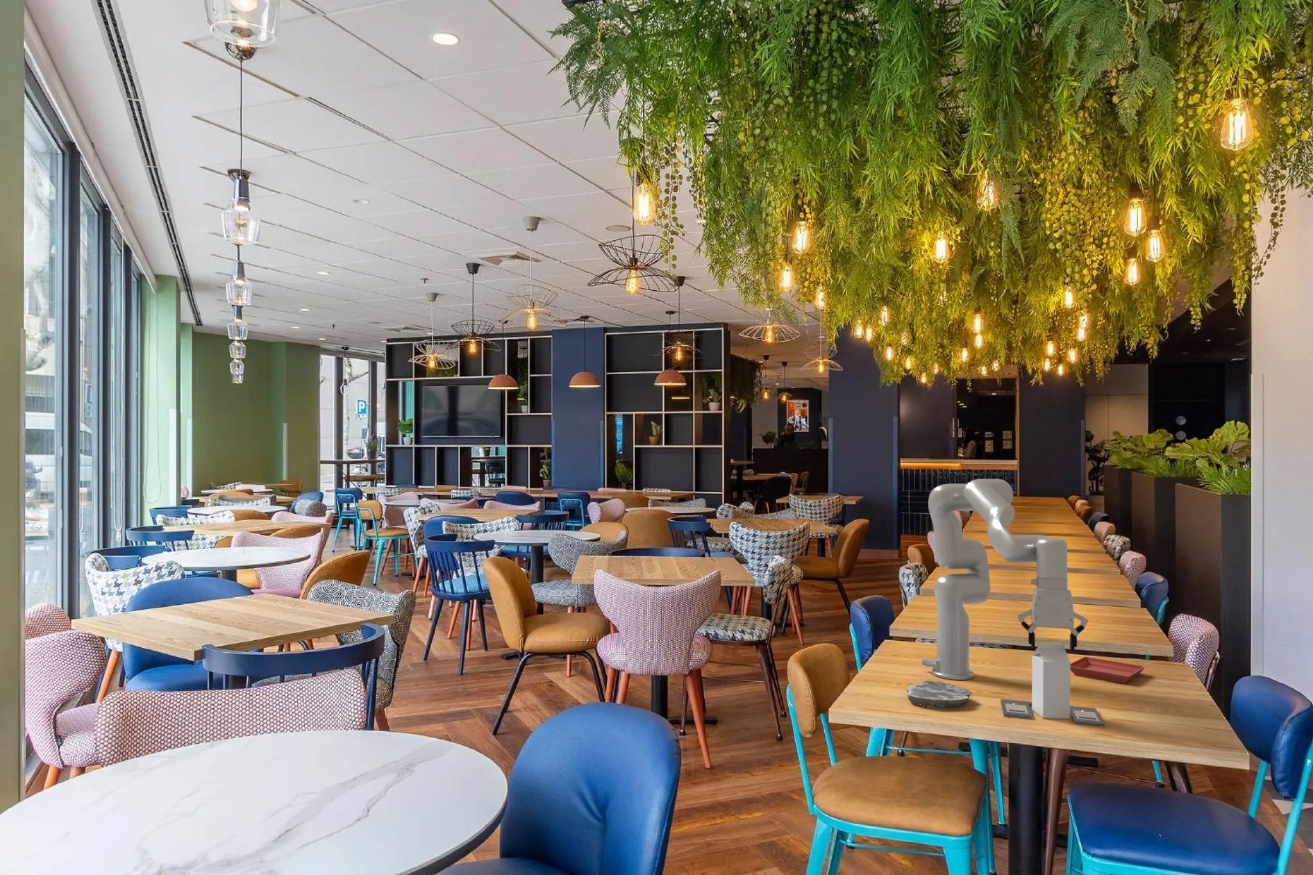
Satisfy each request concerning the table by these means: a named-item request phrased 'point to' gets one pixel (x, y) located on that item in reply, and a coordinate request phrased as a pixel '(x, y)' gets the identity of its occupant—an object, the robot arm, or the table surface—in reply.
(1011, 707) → the label panel
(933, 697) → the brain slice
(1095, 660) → the plant saucer
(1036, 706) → the milk carton
